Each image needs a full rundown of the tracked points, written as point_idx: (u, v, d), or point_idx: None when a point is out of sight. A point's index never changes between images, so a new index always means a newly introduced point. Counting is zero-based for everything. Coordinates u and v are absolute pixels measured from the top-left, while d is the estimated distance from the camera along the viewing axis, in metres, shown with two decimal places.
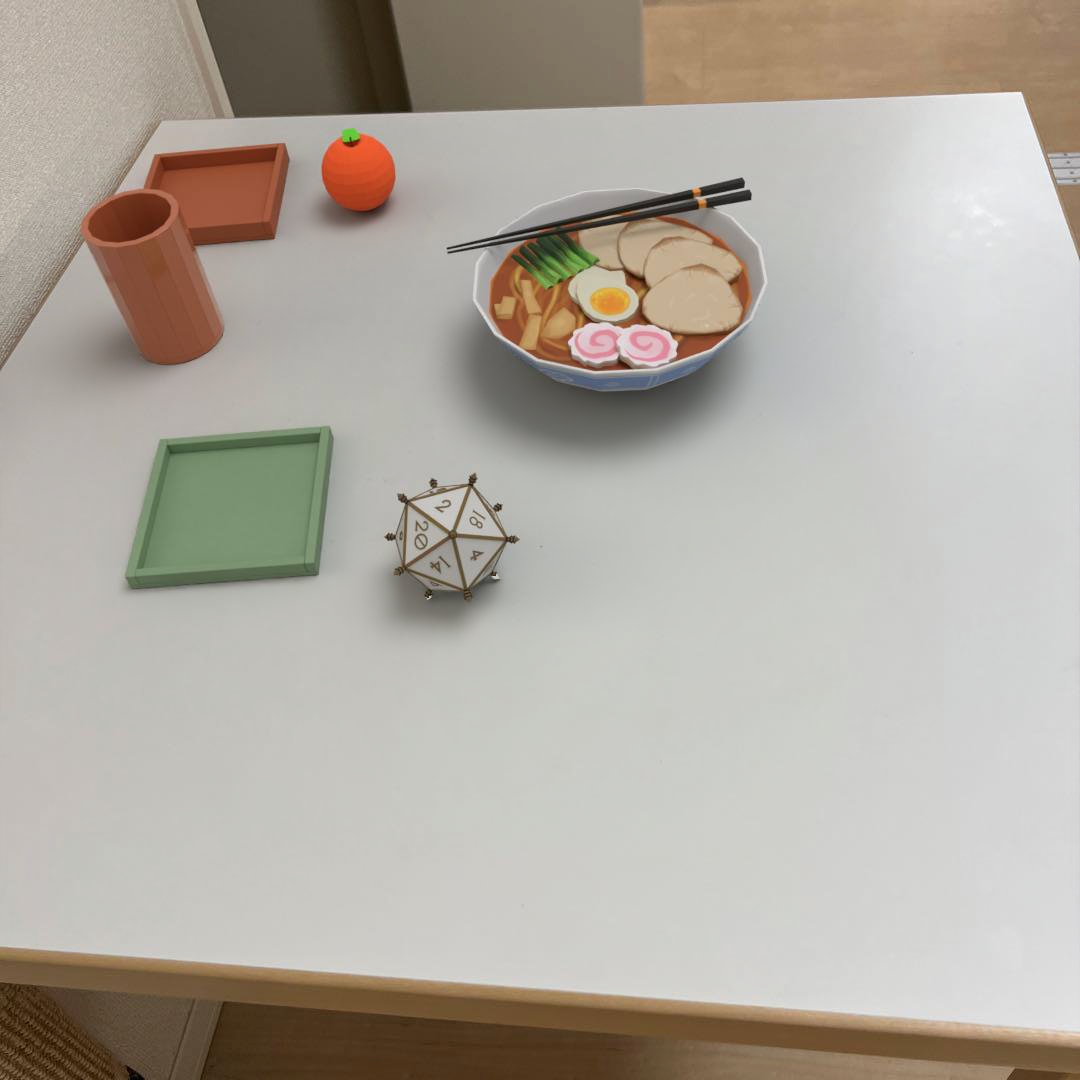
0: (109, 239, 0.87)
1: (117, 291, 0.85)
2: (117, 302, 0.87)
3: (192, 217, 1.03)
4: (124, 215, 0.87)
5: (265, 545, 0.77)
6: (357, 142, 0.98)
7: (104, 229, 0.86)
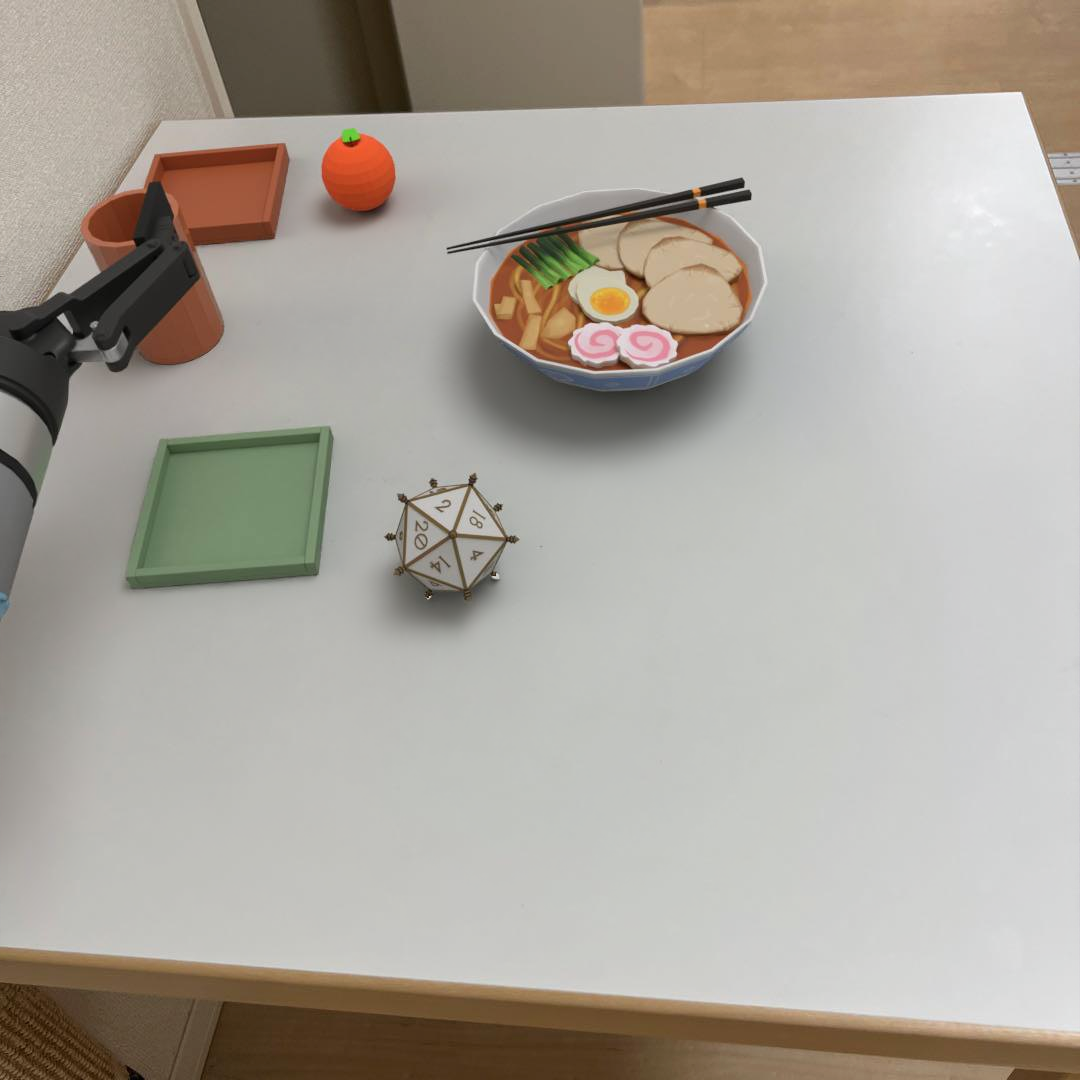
0: (109, 239, 0.87)
1: None
2: None
3: (192, 217, 1.03)
4: (124, 215, 0.87)
5: (265, 545, 0.77)
6: (357, 142, 0.98)
7: (104, 229, 0.86)
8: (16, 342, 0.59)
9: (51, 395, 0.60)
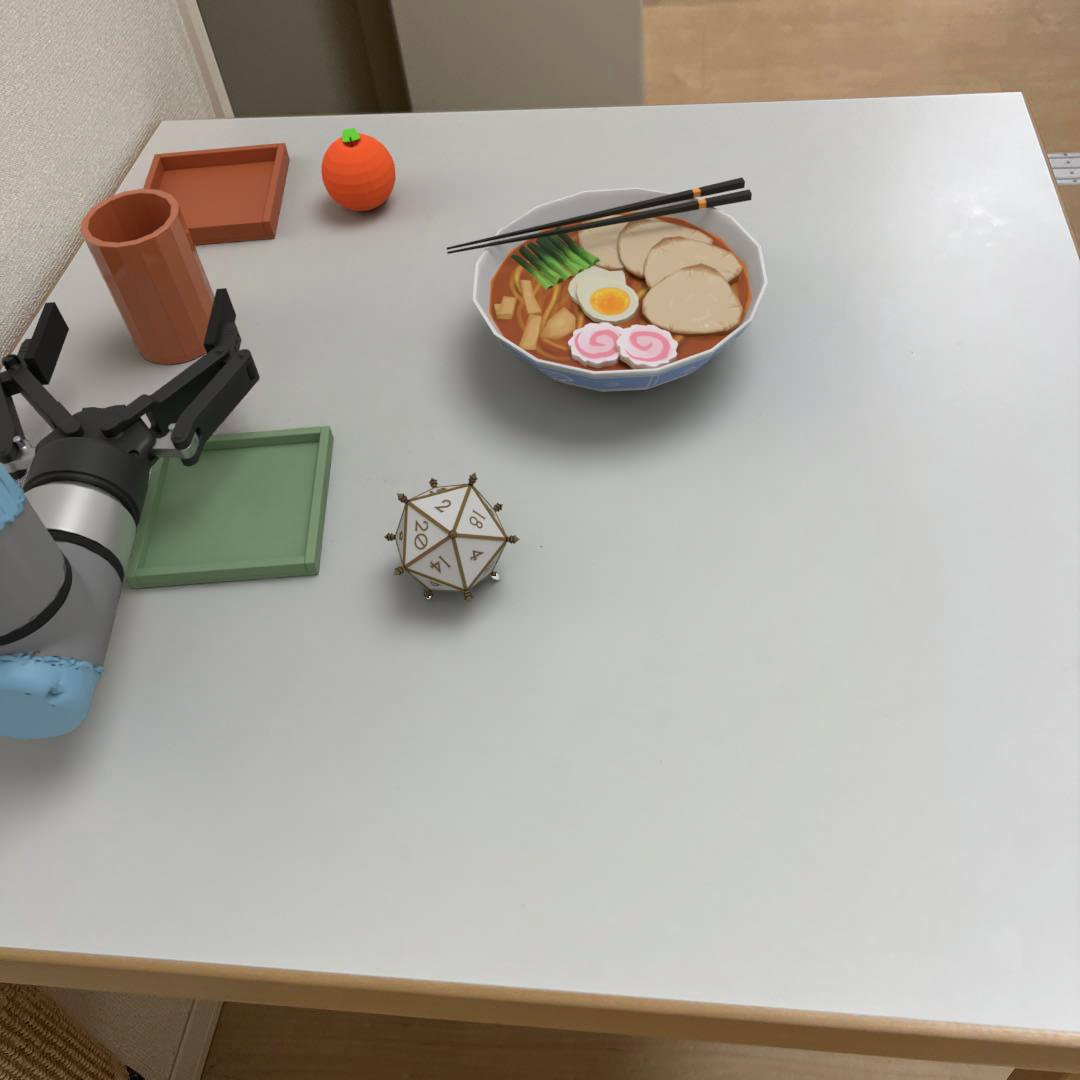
0: (109, 239, 0.87)
1: (117, 291, 0.85)
2: (117, 302, 0.87)
3: (192, 217, 1.03)
4: (124, 215, 0.87)
5: (265, 545, 0.77)
6: (357, 142, 0.98)
7: (104, 229, 0.86)
8: (109, 445, 0.71)
9: (136, 489, 0.72)
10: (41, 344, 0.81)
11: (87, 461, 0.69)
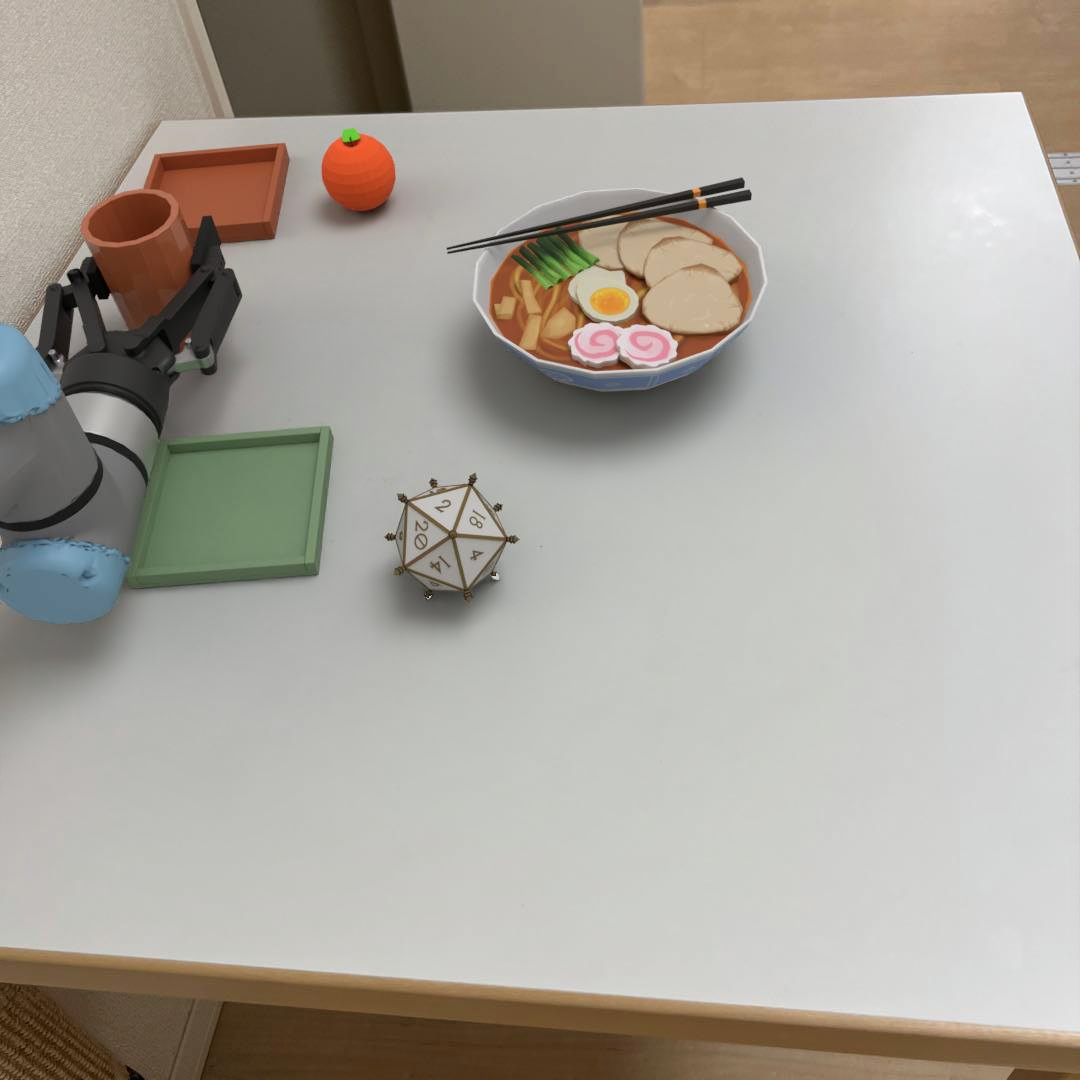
0: (109, 239, 0.87)
1: (117, 291, 0.85)
2: (117, 302, 0.87)
3: (192, 217, 1.03)
4: (124, 215, 0.87)
5: (265, 545, 0.77)
6: (357, 142, 0.98)
7: (104, 229, 0.86)
8: (133, 360, 0.76)
9: (158, 402, 0.77)
10: None
11: (113, 374, 0.75)
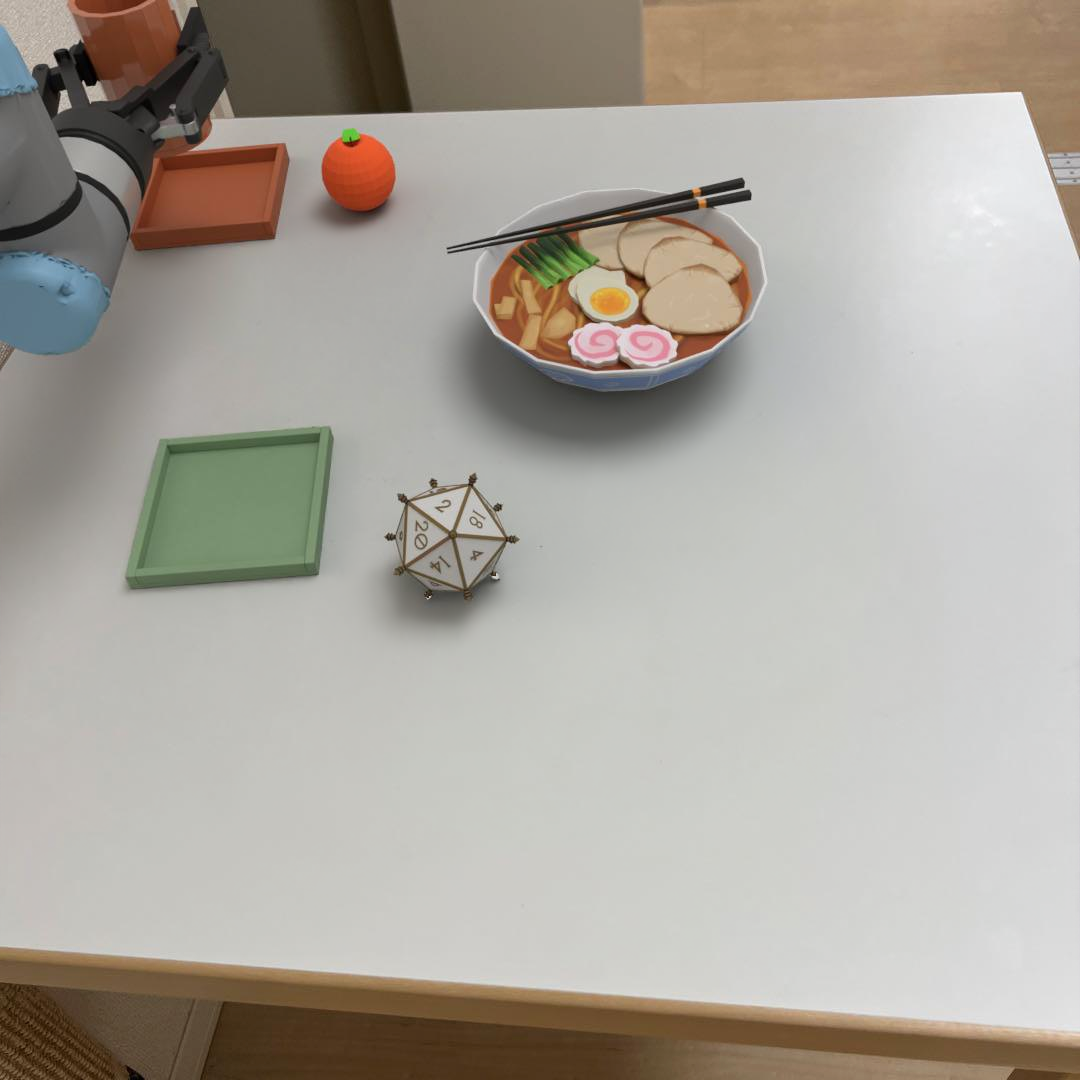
0: None
1: (104, 72, 0.85)
2: (104, 86, 0.87)
3: (192, 217, 1.03)
4: None
5: (265, 545, 0.77)
6: (357, 142, 0.98)
7: (91, 12, 0.86)
8: (116, 115, 0.76)
9: (142, 159, 0.77)
10: None
11: (96, 123, 0.75)
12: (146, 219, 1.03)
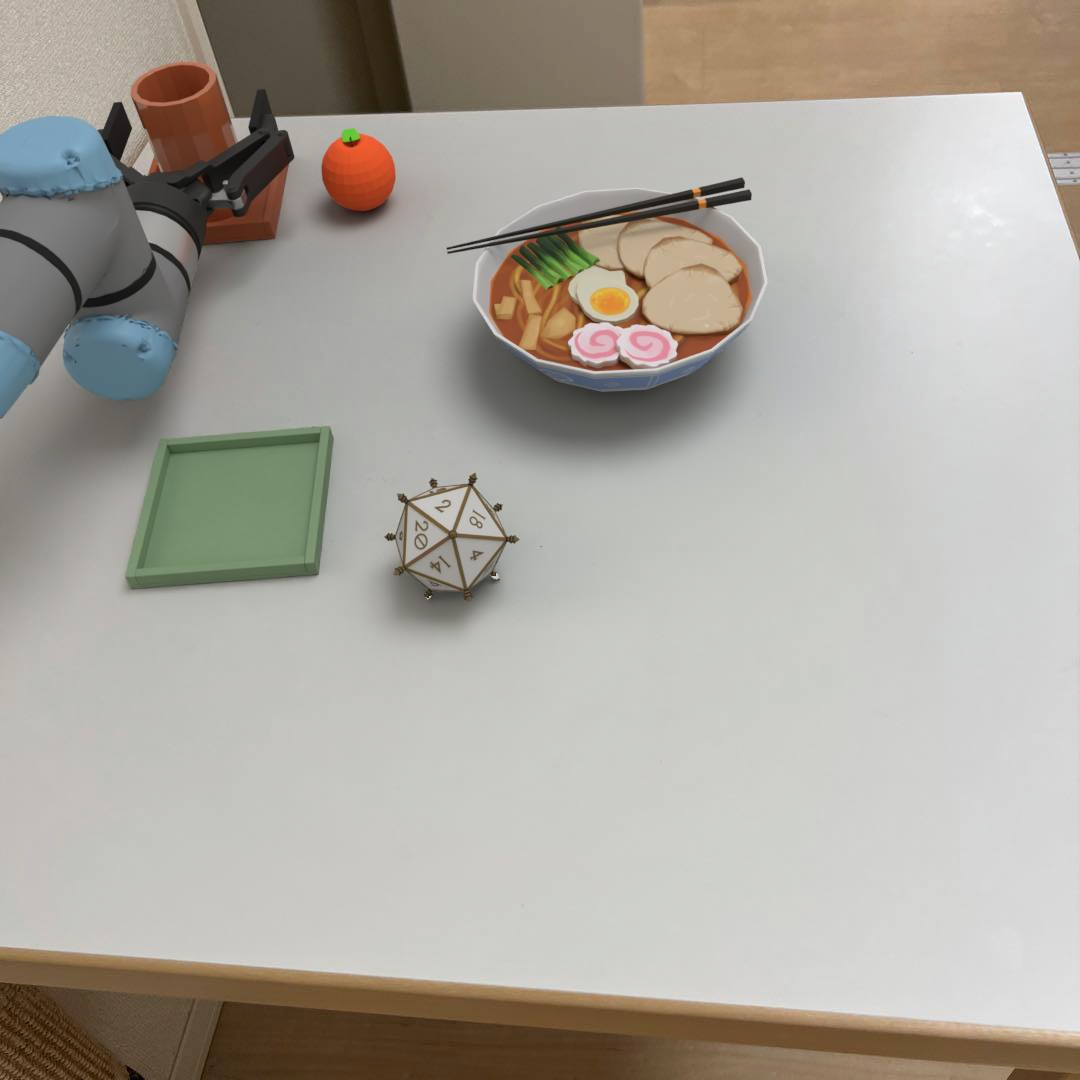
0: None
1: (161, 150, 0.97)
2: (161, 162, 0.99)
3: None
4: (167, 86, 0.99)
5: (265, 545, 0.77)
6: (357, 142, 0.98)
7: (150, 97, 0.98)
8: (176, 189, 0.88)
9: (198, 226, 0.88)
10: (112, 131, 0.97)
11: (160, 197, 0.86)
12: None
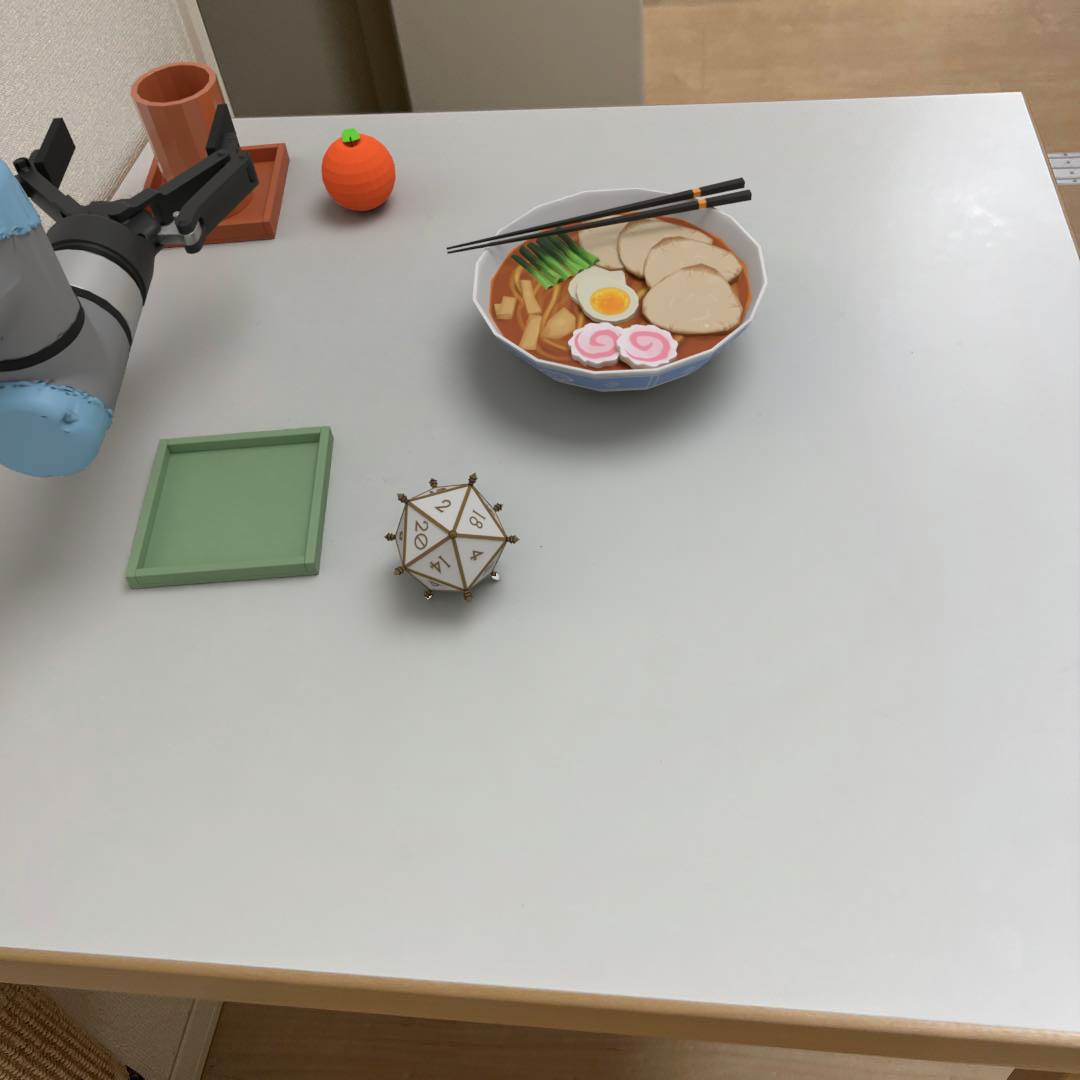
0: None
1: (161, 150, 0.97)
2: (161, 162, 0.99)
3: None
4: (167, 86, 0.99)
5: (265, 545, 0.77)
6: (357, 142, 0.98)
7: (150, 97, 0.98)
8: (117, 223, 0.75)
9: (143, 266, 0.76)
10: (50, 152, 0.85)
11: (96, 233, 0.73)
12: None
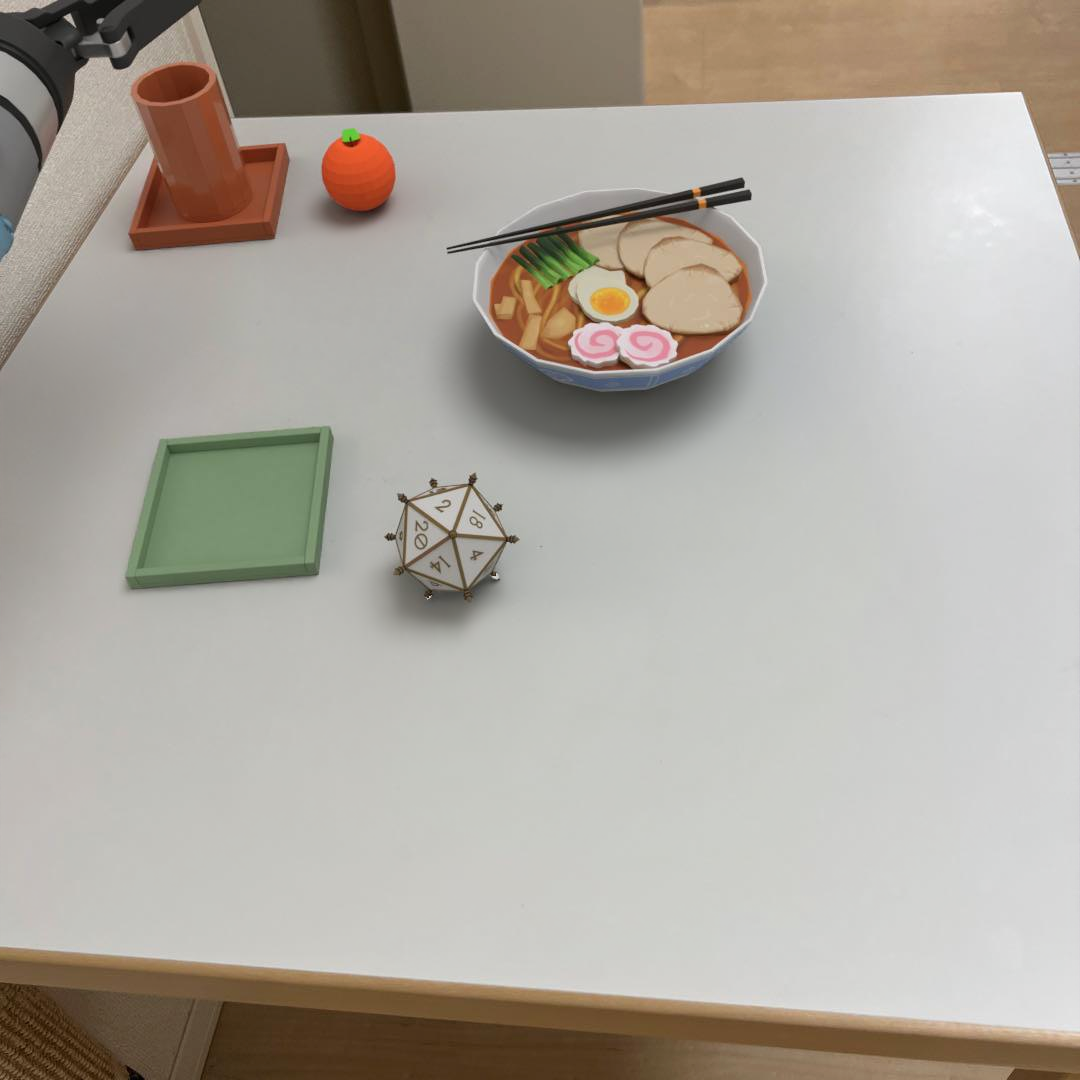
0: None
1: (161, 150, 0.97)
2: (161, 162, 0.99)
3: None
4: (167, 86, 0.99)
5: (265, 545, 0.77)
6: (357, 142, 0.98)
7: (150, 97, 0.98)
8: (27, 22, 0.64)
9: (58, 75, 0.65)
10: None
11: (0, 29, 0.62)
12: (146, 219, 1.03)
